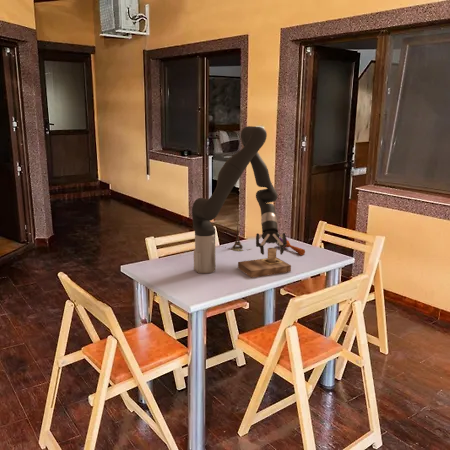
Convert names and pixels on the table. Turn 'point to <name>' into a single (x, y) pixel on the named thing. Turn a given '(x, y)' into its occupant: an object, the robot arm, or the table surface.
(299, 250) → the maraca
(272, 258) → the pin
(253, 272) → the pin board
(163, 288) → the table surface
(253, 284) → the table surface
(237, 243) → the eiffel tower figurine
